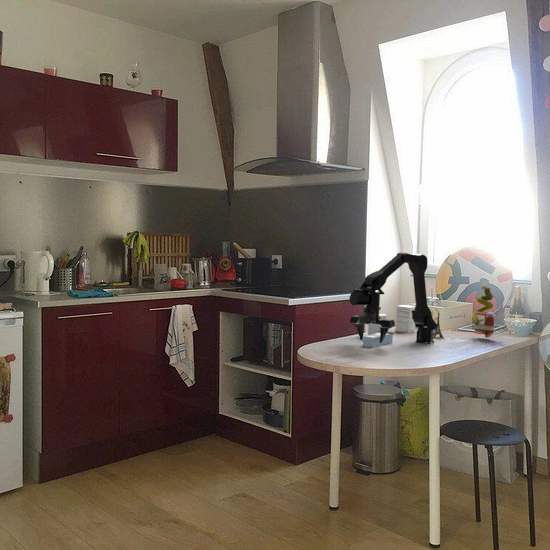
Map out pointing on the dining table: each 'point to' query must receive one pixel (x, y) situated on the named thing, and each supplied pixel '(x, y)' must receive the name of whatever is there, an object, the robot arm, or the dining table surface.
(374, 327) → the small box
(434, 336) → the eiffel tower figurine
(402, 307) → the white tall block
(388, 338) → the blue notched block
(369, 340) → the light blue block
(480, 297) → the prank snake can
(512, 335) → the dining table surface
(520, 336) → the dining table surface
